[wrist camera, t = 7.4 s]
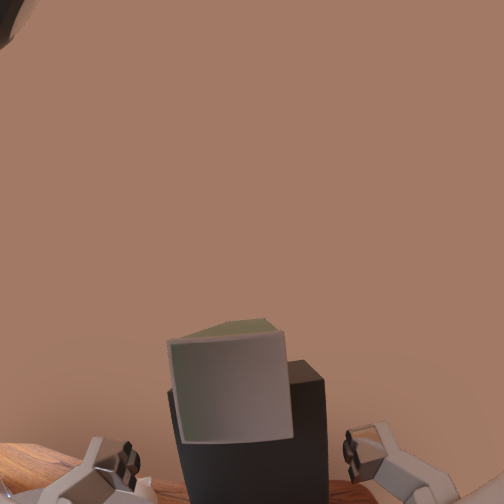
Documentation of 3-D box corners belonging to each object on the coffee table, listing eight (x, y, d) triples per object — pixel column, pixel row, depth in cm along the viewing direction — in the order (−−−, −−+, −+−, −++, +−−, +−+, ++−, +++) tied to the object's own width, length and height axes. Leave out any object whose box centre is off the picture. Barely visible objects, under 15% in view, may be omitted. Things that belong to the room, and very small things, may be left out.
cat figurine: (67, 467, 25) (146, 472, 28) (94, 472, 32) (160, 474, 35) (75, 521, 19) (158, 528, 22) (102, 516, 26) (170, 519, 29)
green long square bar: (294, 438, 9) (284, 330, 10) (181, 444, 9) (166, 340, 10) (269, 357, 28) (265, 317, 29) (229, 360, 28) (225, 321, 29)
